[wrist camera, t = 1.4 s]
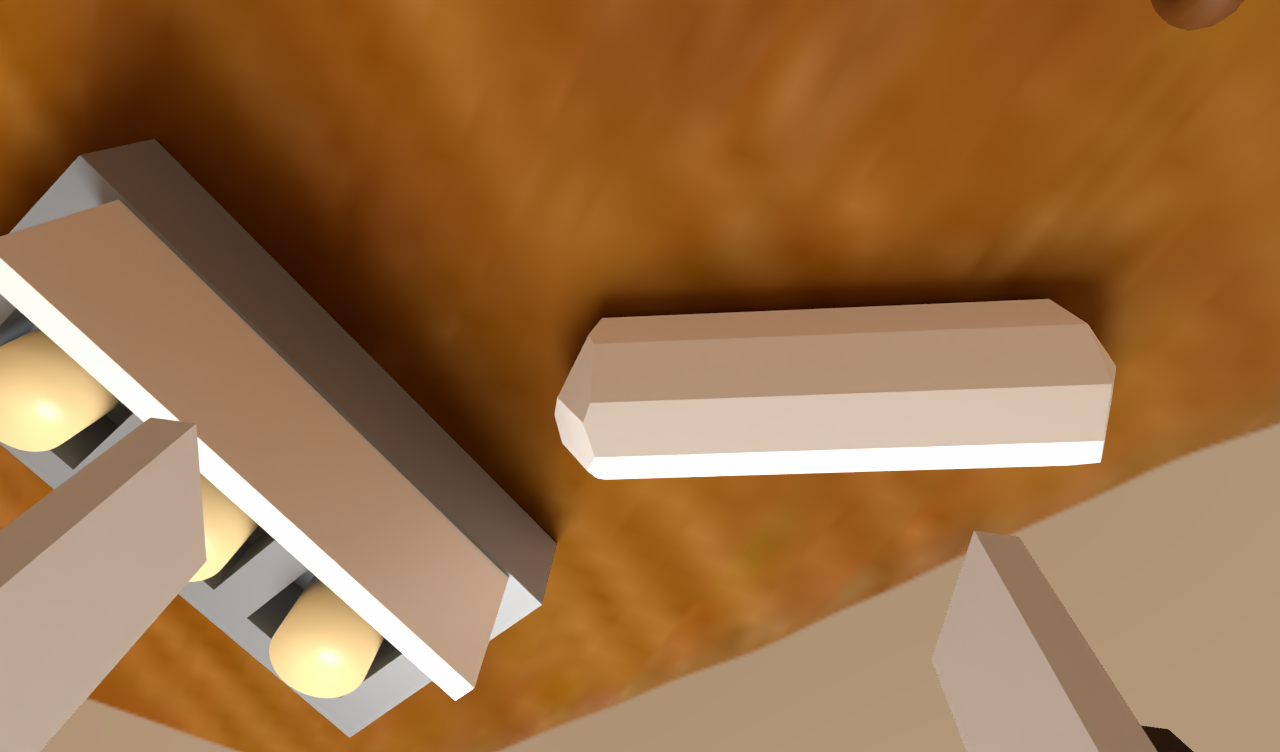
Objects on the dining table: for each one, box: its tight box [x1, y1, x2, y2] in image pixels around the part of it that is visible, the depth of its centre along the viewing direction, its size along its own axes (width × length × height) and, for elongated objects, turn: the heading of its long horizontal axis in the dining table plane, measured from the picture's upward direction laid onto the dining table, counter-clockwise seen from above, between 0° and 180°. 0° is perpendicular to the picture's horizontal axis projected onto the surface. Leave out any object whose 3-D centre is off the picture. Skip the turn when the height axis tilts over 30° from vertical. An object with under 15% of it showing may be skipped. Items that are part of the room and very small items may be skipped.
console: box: [0, 139, 557, 738], centre depth 37 cm, size 26×13×12 cm, turn 40°
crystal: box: [554, 299, 1116, 480], centre depth 38 cm, size 7×7×24 cm
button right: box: [269, 576, 384, 698], centre depth 40 cm, size 4×4×4 cm
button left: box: [0, 328, 122, 452], centre depth 36 cm, size 4×4×4 cm
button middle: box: [189, 473, 259, 582], centre depth 38 cm, size 4×4×4 cm
